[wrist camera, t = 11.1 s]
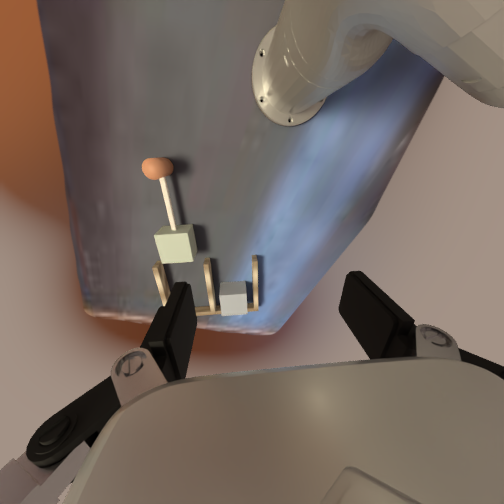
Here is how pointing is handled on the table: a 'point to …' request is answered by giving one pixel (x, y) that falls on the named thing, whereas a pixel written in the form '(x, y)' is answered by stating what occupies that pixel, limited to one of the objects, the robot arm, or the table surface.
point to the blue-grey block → (233, 298)
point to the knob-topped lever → (170, 219)
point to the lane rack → (211, 309)
